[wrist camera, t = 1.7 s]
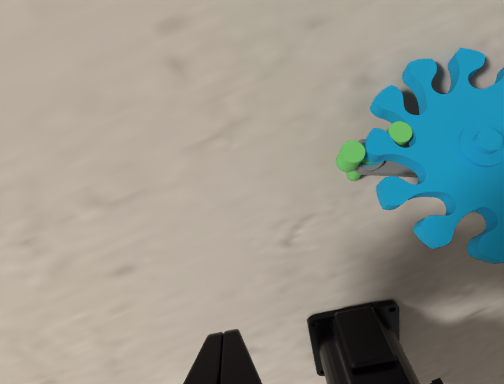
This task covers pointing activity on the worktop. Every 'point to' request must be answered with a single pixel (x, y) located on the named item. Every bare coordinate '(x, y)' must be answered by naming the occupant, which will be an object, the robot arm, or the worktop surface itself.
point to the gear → (440, 152)
